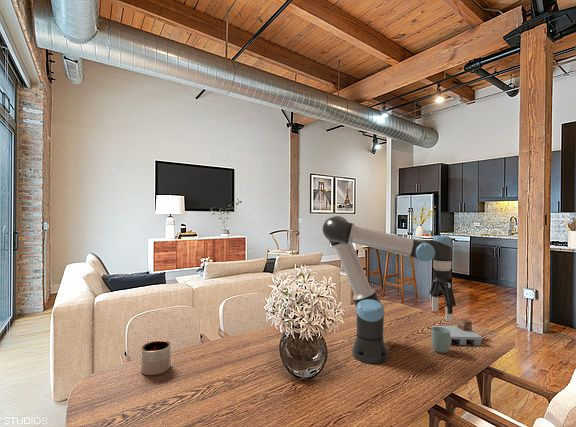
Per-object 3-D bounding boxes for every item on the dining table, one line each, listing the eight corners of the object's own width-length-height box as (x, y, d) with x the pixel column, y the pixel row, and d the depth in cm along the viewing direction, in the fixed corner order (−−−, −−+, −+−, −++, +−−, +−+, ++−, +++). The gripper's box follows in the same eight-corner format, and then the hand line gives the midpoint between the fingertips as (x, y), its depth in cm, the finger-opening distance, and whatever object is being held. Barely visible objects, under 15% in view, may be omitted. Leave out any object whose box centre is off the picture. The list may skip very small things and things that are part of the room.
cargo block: (463, 331, 157) (463, 322, 157) (457, 327, 162) (457, 319, 162) (471, 330, 158) (471, 321, 158) (465, 327, 163) (465, 318, 162)
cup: (445, 347, 147) (446, 326, 147) (452, 355, 139) (453, 333, 139) (428, 346, 148) (429, 326, 148) (434, 354, 140) (435, 332, 140)
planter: (176, 364, 129) (176, 341, 129) (158, 378, 118) (158, 353, 118) (153, 361, 132) (153, 338, 131) (134, 374, 121) (134, 349, 121)
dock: (444, 344, 150) (444, 336, 150) (431, 333, 164) (431, 325, 164) (482, 345, 150) (482, 337, 150) (466, 333, 164) (466, 326, 164)
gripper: (465, 275, 130) (464, 325, 131) (438, 264, 155) (437, 306, 156) (447, 275, 131) (446, 325, 131) (422, 264, 156) (422, 306, 156)
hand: (441, 315), depth 143 cm, fingers open, 13 cm apart
